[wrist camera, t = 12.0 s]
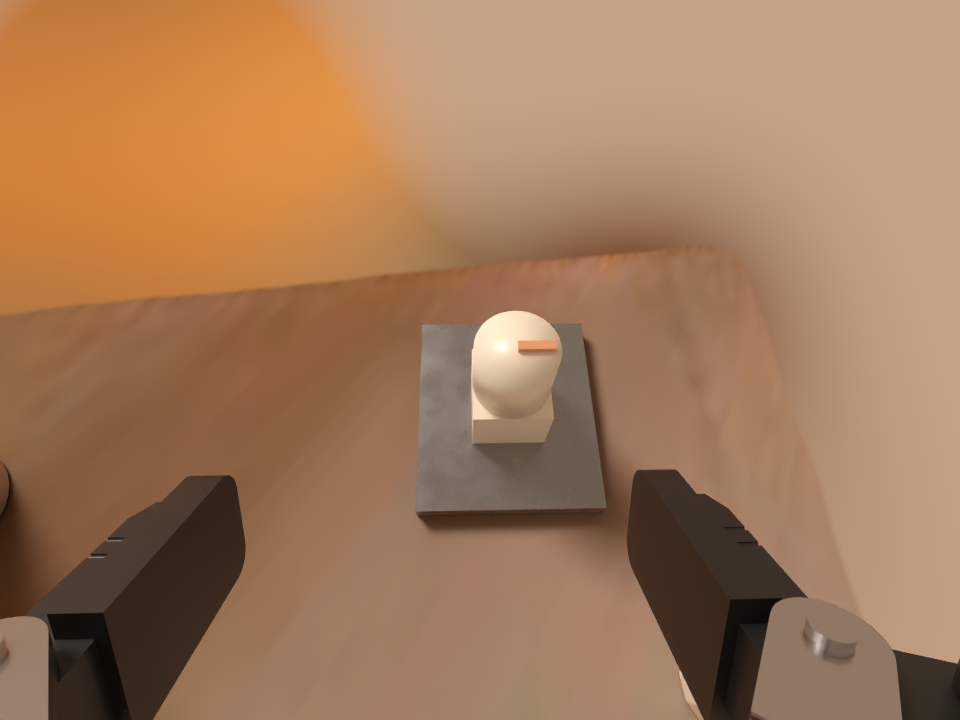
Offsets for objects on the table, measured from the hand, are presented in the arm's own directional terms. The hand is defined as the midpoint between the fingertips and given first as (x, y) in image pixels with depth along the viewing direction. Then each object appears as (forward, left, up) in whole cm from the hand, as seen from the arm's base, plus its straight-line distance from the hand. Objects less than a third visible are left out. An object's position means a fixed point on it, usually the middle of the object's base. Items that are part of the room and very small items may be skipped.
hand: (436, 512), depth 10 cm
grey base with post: (+4, +14, -29) cm, 32 cm away
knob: (+4, +14, -27) cm, 30 cm away
